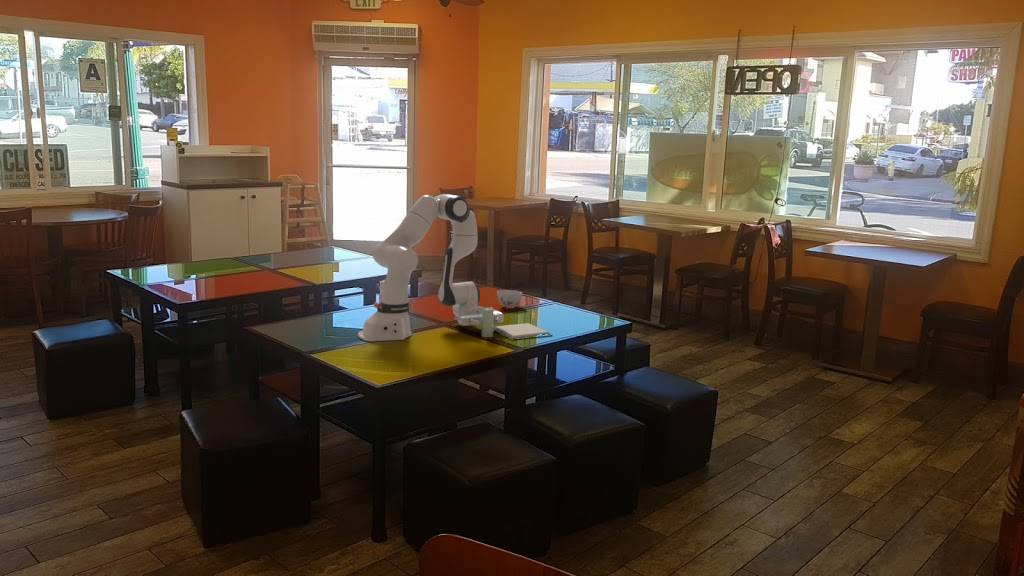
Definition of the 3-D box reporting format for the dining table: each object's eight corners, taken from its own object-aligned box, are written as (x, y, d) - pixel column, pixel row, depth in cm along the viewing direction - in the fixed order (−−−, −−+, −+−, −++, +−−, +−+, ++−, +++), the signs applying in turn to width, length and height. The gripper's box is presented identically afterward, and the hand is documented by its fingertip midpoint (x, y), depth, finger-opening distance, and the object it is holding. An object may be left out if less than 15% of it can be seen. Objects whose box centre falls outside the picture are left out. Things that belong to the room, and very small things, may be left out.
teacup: (513, 311, 386) (513, 295, 385) (491, 308, 393) (492, 292, 391) (528, 306, 399) (529, 290, 397) (507, 303, 405) (508, 287, 404)
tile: (511, 340, 333) (511, 336, 332) (490, 329, 350) (490, 326, 350) (552, 335, 342) (552, 332, 342) (529, 325, 359) (529, 322, 359)
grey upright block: (484, 338, 334) (485, 311, 331) (479, 336, 338) (480, 308, 336) (495, 337, 336) (495, 310, 334) (489, 335, 340) (490, 307, 338)
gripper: (452, 310, 341) (466, 317, 330) (495, 306, 351) (509, 313, 339) (452, 324, 343) (466, 332, 331) (494, 320, 352) (509, 327, 340)
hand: (488, 322), depth 335 cm, fingers open, 8 cm apart
